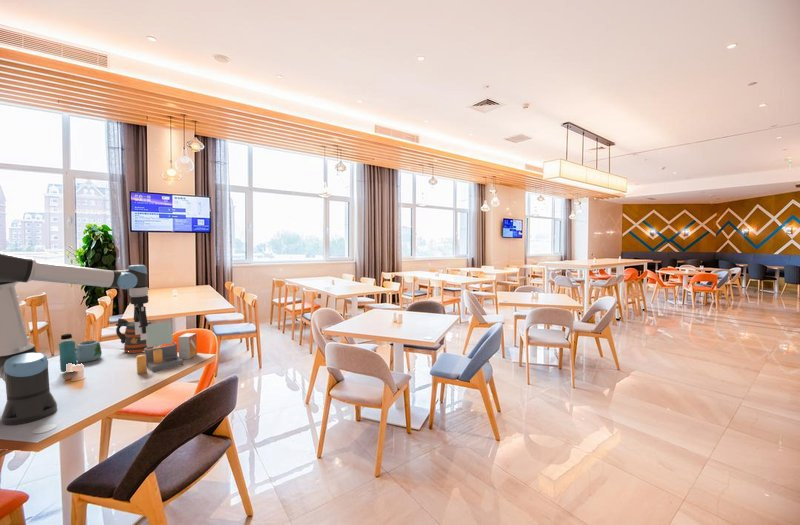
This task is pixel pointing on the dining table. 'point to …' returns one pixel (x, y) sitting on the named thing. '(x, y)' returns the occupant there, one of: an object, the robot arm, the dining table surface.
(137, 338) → the beer stein
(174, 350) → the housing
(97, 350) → the mug
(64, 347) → the beverage bottle
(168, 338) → the lid
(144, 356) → the peg
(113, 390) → the dining table surface
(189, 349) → the small box
